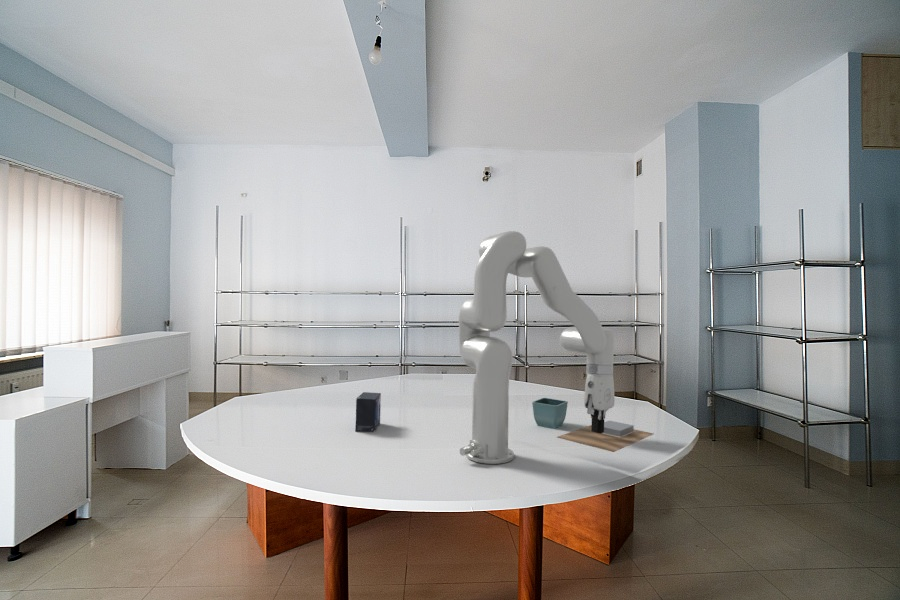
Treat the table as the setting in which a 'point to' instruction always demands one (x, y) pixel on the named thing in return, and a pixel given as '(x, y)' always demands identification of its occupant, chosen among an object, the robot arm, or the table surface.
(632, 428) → the tile
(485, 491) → the table surface
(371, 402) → the small box
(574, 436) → the board
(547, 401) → the flower pot
